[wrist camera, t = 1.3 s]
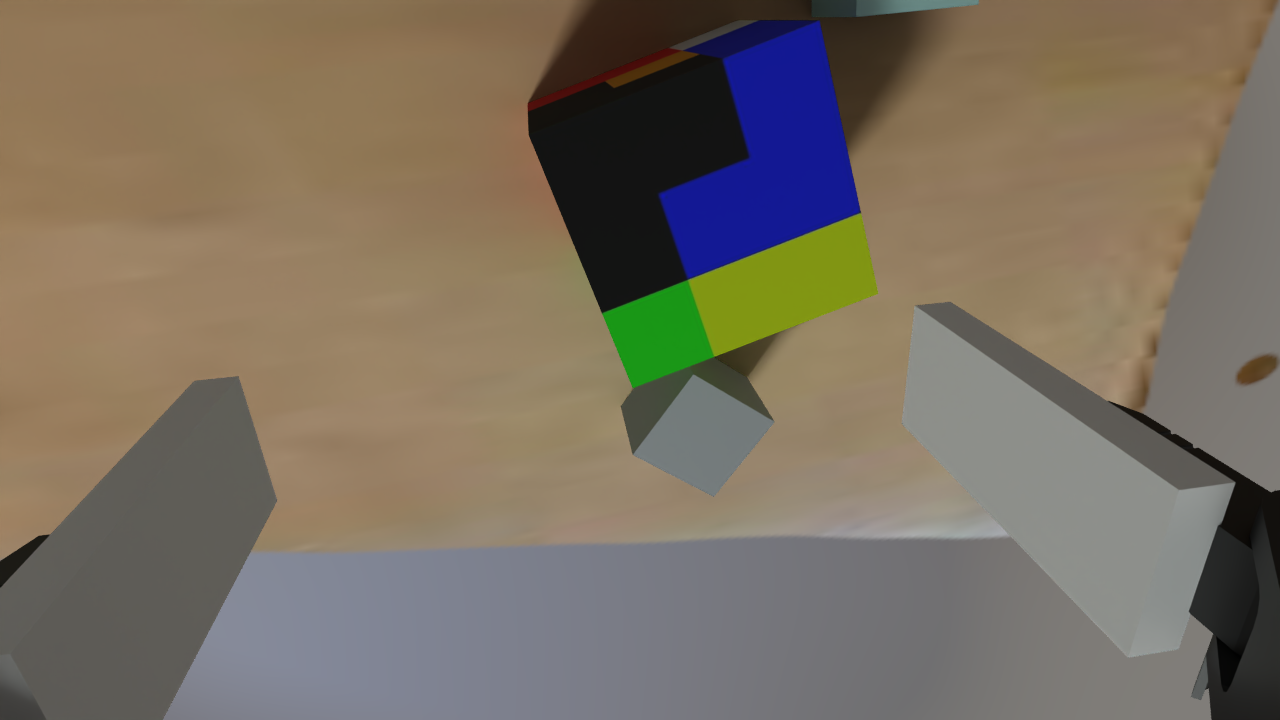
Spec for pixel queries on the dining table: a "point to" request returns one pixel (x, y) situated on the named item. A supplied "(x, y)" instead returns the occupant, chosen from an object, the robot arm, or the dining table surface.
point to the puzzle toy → (708, 192)
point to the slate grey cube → (696, 423)
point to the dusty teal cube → (879, 6)
